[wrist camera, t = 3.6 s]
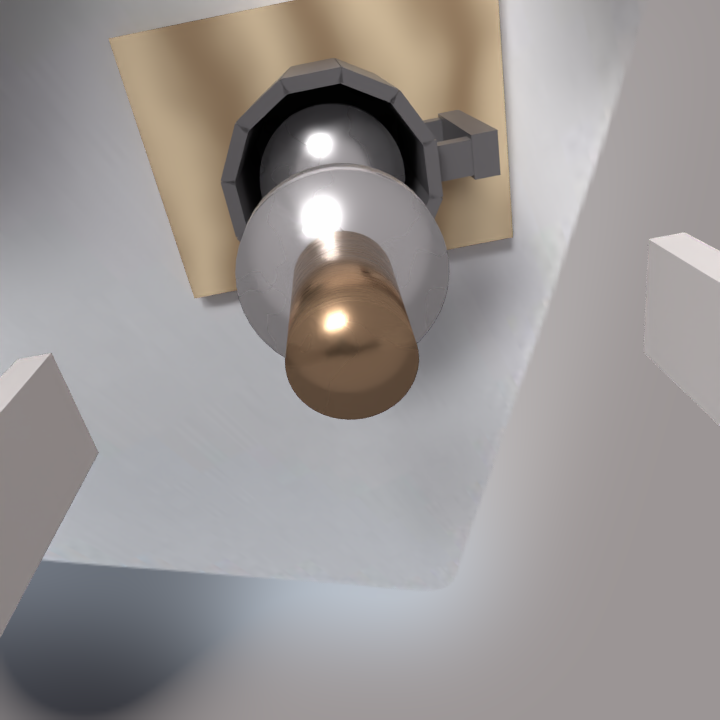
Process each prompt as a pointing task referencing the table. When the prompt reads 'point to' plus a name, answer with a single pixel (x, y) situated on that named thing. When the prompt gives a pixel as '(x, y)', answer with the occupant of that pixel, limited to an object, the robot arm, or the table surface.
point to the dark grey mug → (383, 101)
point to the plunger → (341, 262)
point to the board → (270, 61)
